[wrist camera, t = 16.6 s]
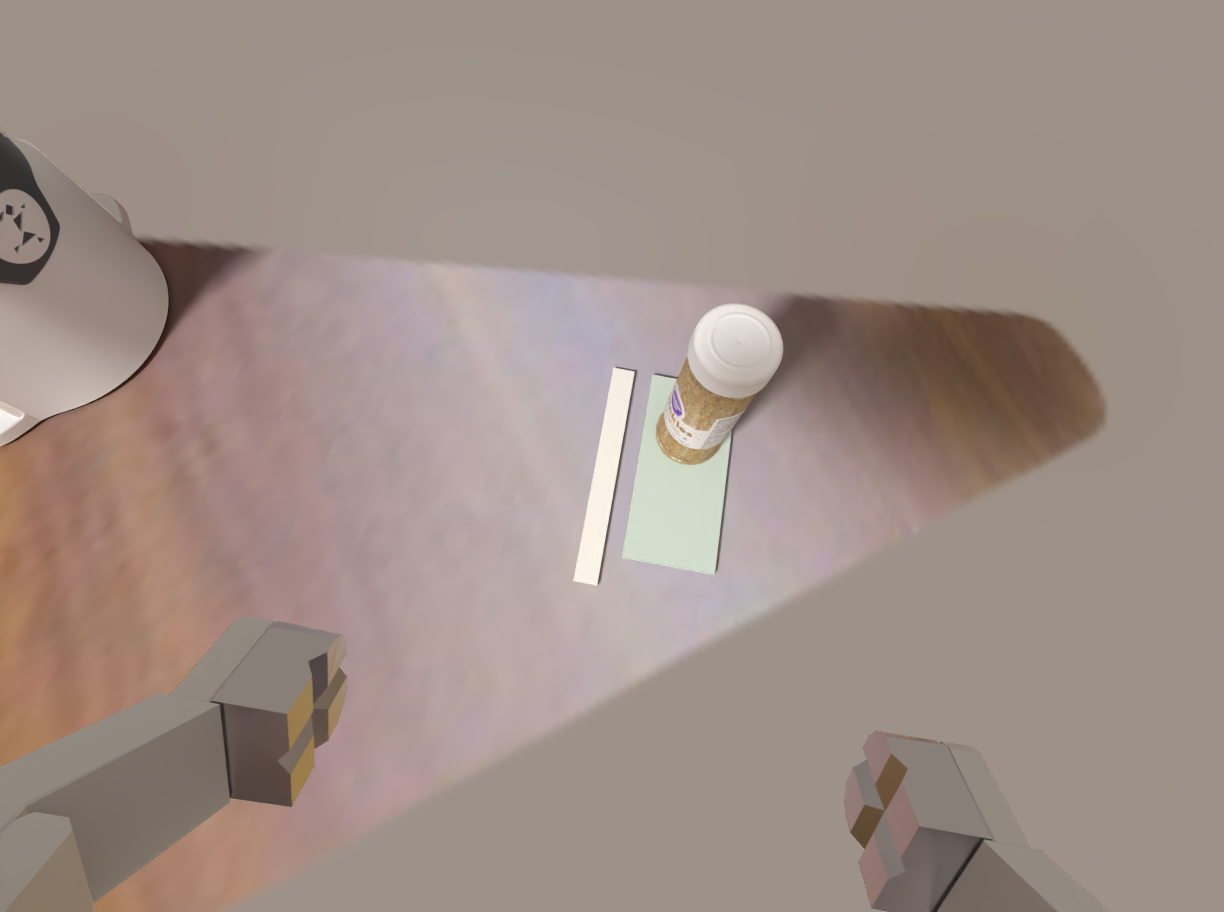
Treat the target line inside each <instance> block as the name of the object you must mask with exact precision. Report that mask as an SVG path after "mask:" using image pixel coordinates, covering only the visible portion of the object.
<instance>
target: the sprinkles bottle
mask: <svg viewBox="0 0 1224 912" xmlns="http://www.w3.org/2000/svg"><path fill="white" fill-rule="evenodd" d="M687 352H688V356H687V358H686V360H685V363H684V365H683V368H682V370H681V372H680V374H679V377H678V379H677V380H676V382H675V384H674V386H673V388H672V391H671V393H670V395H669V398H668V400H667V402H666V405H665V409H664V412H663V413H662V414H661V415H660V417H659V419H658V421H657V424H656V440H657V444H658V446H659V447H660V449H661V451H662V452H663V453H664V454H665V455H666V456H667V457H669V458H670V459H671V460H673V461H674V462H678V463H680V464H686V465H696V464H702V463H704V462H705V461H707V460H709V459H710V458H711V457H713V456H714V455H715V453H716V452H717V450H718V448H719V445H720V443H721V442H722V441H723V440H724V439H725V438H726V436H727V435H728V434H729V432H730V431H731V429H732V428H733V427H734V425H735V424H736V422H737V421H738V419H739V418H740V417H741V415H742V414H743V413H744V411H745V410H746V408H747V407H748V406H749V404H750V402H751V401H752V398H753V397H754V396H755V394H756V393H757V392H758V391H760V390H761V389H763V388H764V387H765V386H766V384H767V383H768V382H769V380H770V379H771V378H772V376H773V375H774V373H775V372H776V370H777V369H778V367H779V365H780V362H781V360H782V356H783V341H782V337H781V334H780V332H779V330H778V328H777V326H776V325H775V323H774V322H773V321H772V320H771V319H770V318H769V317H768V316H767V315H766V314H765V313H763V312H762V311H760V310H758V309H756V308H754V307H751V306H748V305H744V304H737V303H736V304H724V305H721V306H718V307H715V308H714V309H712V310H710V311H709V312H707V313H706V314H705V315H704V316H703V317H702V318H701V319H700V321H699V322H698V324H697V326H696V328H695V330H694V332H693V334H692V337H691V339H690V342H689V346H688V351H687Z"/></svg>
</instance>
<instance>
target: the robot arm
mask: <svg viewBox="0 0 1224 912" xmlns="http://www.w3.org/2000/svg"><path fill="white" fill-rule="evenodd" d="M168 302H169V300H168V289H167V284H166V280H165V277H164V275H163V272H162V270H161V268H160V267H159V265H158V263H157V262H156V260H155V259H154V258H153V256H152V255H151V254H150V253H149V252H148V251H147V250H146V249H145V248H144V247H143V246H142V245H141V244H140V243H139V242H138V241H137V240H136V239H135V237H134V236H133V234H132V230H131V226H130V222H129V219H128V216H127V213H126V211H125V209H124V208H123V207H122V206H121V205H120V204H118V202H117V201H115V200H114V199H113V198H112V197H110V196H108V195H103V194H89V193H88V192H87V191H86V190H85V189H83V188H82V187H81V186H80V185H79V184H78V183H77V182H76V181H75V180H73V179H72V178H71V177H70V176H69V175H68V174H67V173H65V172H64V171H63V170H62V169H61V168H60V167H59V166H57V165H56V164H55V163H54V162H53V161H52V160H50V159H49V158H48V157H47V156H46V155H45V154H44V153H42V152H41V151H40V150H39V149H38V148H37V147H35V146H34V145H33V144H31V143H30V142H28V141H26V140H24V139H21V138H17V139H12V138H8V137H7V135H6V133H5V132H4V131H2V129H1V128H0V446H3V445H5V444H7V443H9V442H11V441H13V440H14V439H16V438H17V437H19V436H20V435H22V434H23V433H25V432H26V431H27V430H29V429H30V428H32V427H33V426H34V425H36V424H37V423H38V422H40V421H41V420H43V419H45V418H48V417H50V416H53V415H55V414H58V413H61V412H65V411H68V410H71V409H74V408H77V407H79V406H82V405H85V404H87V403H89V402H91V401H94V400H96V399H97V398H99V397H101V396H103V395H105V394H107V393H108V392H110V391H111V390H113V389H114V388H116V387H117V386H119V385H120V384H121V383H123V382H124V381H125V380H126V379H128V378H129V377H130V376H131V375H132V374H133V373H134V372H135V371H136V370H137V369H138V368H139V367H140V366H141V365H142V364H143V363H144V361H145V360H146V359H147V358H148V356H149V355H150V353H151V352H152V350H153V349H154V347H155V346H156V344H157V342H158V340H159V338H160V336H161V334H162V331H163V329H164V326H165V322H166V318H167V313H168ZM346 655H347V644H346V637H345V636H343V635H342V634H337V633H332V632H327V631H323V630H318V629H313V628H308V627H303V626H298V625H293V624H289V623H284V622H279V621H278V622H275V621H270V620H266V619H261V618H256V617H251V616H247V615H245V616H243V617H241V618H239V619H237V620H235V621H234V622H233V623H232V624H231V625H230V626H229V628H228V629H227V630H226V631H225V632H224V633H223V634H222V636H221V637H220V638H219V639H218V640H217V641H216V642H215V644H214V645H213V646H212V647H211V648H210V649H209V650H208V651H207V653H206V654H205V655H204V656H203V657H202V658H201V659H200V661H199V662H198V663H197V664H196V665H195V666H194V667H193V669H192V670H191V671H190V672H189V673H188V674H187V675H186V676H185V678H184V679H183V680H182V681H181V682H180V683H179V684H178V686H177V687H176V688H175V689H174V690H173V691H172V692H171V694H170V695H167V694H160V693H158V694H156V695H154V696H152V697H150V698H147V699H145V700H143V701H141V702H139V703H137V704H134V705H132V706H130V707H128V708H126V709H124V710H122V711H119V712H117V713H115V714H113V715H111V716H109V717H106V718H104V719H102V720H100V721H98V722H96V723H93V724H91V725H89V726H87V727H85V728H83V729H81V730H78V731H76V732H74V733H72V734H70V735H68V736H65V737H63V738H61V739H59V740H57V741H55V742H52V743H50V744H48V745H46V746H44V747H42V748H39V749H37V750H35V751H33V752H31V753H29V754H27V755H24V756H22V757H20V758H18V759H16V760H14V761H11V762H9V763H7V764H5V765H3V766H1V767H0V912H96V911H95V907H94V903H95V902H96V901H98V900H99V899H100V898H102V897H103V896H104V895H106V894H107V893H108V892H110V891H111V890H112V889H114V888H115V887H116V886H118V885H119V884H121V883H122V882H123V881H125V880H126V879H127V878H129V877H130V876H131V875H133V874H134V873H135V872H137V871H138V870H139V869H141V868H142V867H143V866H145V865H146V864H147V863H149V862H150V861H151V860H153V859H154V858H156V857H157V856H158V855H160V854H161V853H162V852H164V851H165V850H166V849H168V848H169V847H170V846H172V845H173V844H174V843H176V842H177V841H178V840H180V839H181V838H182V837H184V836H185V835H187V834H188V833H189V832H191V831H192V830H193V829H195V828H196V827H197V826H199V825H200V824H201V823H203V822H204V821H205V820H207V819H208V818H209V817H211V816H212V815H213V814H215V813H216V812H217V811H219V810H220V809H222V808H223V807H224V806H226V805H227V804H228V803H230V798H233V799H239V800H246V801H253V802H260V803H267V804H274V805H281V806H288V807H292V806H293V804H294V802H295V801H296V799H297V797H298V795H299V793H300V792H301V790H302V788H303V786H304V784H305V783H306V781H307V779H308V777H309V775H310V773H311V772H312V770H313V768H314V749H316V748H317V747H319V746H320V745H322V744H324V743H325V742H327V741H328V740H329V739H330V737H331V735H332V733H333V731H334V729H335V727H336V725H337V723H338V720H339V717H340V714H341V711H342V708H343V706H344V701H345V695H346V690H347V676H346V675H345V674H344V672H343V671H342V670H341V669H340V665H341V664H342V662H343V660H344V659H345V657H346ZM863 749H864V752H865V755H866V758H867V760H865V761H864V762H862V763H860V764H858V765H857V766H855V767H853V769H852V771H851V774H850V776H849V778H848V780H847V783H846V791H845V801H844V802H845V812H846V819H847V823H848V826H849V830H850V833H851V834H852V835H853V837H854V838H855V839H856V840H857V841H858V842H859V843H860V845H861V846H862V847H863V848H864V851H863V853H862V855H861V858H860V859H859V862H858V863H859V866H860V870H861V873H862V877H863V880H864V884H865V887H866V891H867V894H868V898H869V901H870V905H871V908H872V909H877V910H882V911H887V912H1110V911H1109V910H1107V909H1106V908H1105V907H1104V906H1103V905H1102V904H1101V903H1100V902H1099V901H1098V900H1096V899H1095V898H1094V897H1093V896H1092V895H1091V894H1090V893H1089V892H1088V891H1086V890H1085V889H1084V888H1083V887H1082V886H1081V885H1080V884H1079V883H1078V882H1077V881H1075V880H1074V879H1073V878H1072V877H1071V876H1070V875H1069V874H1068V873H1067V872H1065V871H1064V870H1063V869H1062V868H1061V867H1060V866H1059V865H1058V864H1056V863H1055V862H1054V861H1053V860H1052V859H1051V858H1050V857H1049V856H1048V855H1046V854H1045V853H1044V852H1043V851H1042V850H1039V849H1034V848H1031V847H1030V845H1029V843H1028V841H1027V839H1026V837H1025V835H1024V833H1023V832H1022V830H1021V828H1020V826H1019V824H1018V822H1017V820H1016V818H1015V816H1014V814H1013V813H1012V811H1011V809H1010V807H1009V805H1008V803H1007V801H1006V800H1005V798H1004V796H1003V794H1002V792H1001V790H1000V788H999V787H998V784H997V783H996V781H995V779H994V777H993V775H992V773H991V771H990V769H989V768H988V766H987V764H986V762H985V760H984V758H983V756H982V755H981V753H980V752H979V751H978V750H976V749H975V748H974V747H971V746H965V745H959V744H953V743H947V742H938V741H935V740H928V739H923V738H917V737H911V736H905V735H900V734H894V733H888V732H882V731H875V732H873V733H872V734H871V735H869V736H868V738H867V741H866V742H865V744H864V746H863Z"/></svg>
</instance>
